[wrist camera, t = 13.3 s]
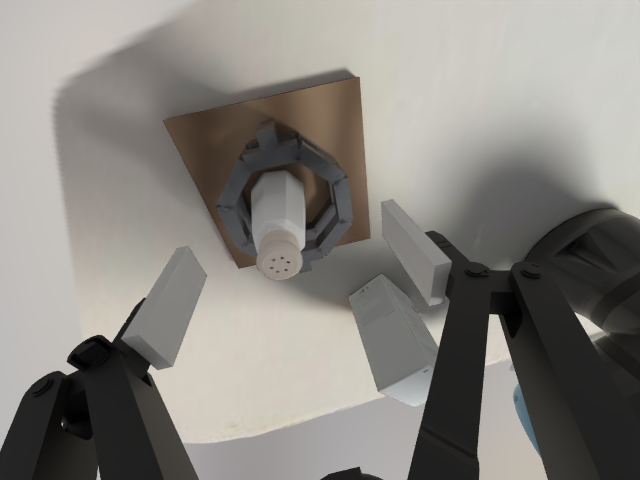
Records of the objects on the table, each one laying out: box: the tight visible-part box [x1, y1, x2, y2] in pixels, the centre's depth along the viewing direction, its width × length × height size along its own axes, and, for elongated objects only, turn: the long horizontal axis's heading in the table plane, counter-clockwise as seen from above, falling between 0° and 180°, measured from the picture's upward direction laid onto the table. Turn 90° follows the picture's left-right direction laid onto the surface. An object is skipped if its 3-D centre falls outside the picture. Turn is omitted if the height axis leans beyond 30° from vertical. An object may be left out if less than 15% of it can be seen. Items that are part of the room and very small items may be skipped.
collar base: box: [163, 77, 370, 268], centre depth 24 cm, size 16×16×1 cm
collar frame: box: [216, 119, 353, 273], centre depth 21 cm, size 10×13×5 cm
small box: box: [348, 273, 439, 407], centre depth 30 cm, size 8×6×13 cm
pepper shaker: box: [251, 170, 305, 280], centre depth 19 cm, size 5×5×11 cm
